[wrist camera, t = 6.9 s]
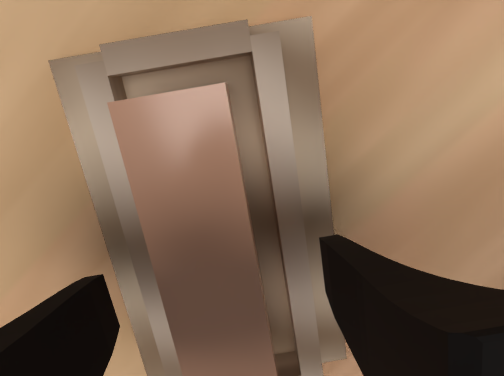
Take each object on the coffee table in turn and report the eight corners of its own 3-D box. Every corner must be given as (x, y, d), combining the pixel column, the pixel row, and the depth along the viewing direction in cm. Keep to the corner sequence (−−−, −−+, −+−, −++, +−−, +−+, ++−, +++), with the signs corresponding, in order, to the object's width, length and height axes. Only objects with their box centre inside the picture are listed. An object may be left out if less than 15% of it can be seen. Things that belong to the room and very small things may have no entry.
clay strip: (272, 336, 17) (287, 435, 12) (211, 346, 17) (203, 450, 12) (228, 84, 13) (224, 82, 9) (152, 96, 13) (106, 102, 9)
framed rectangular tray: (340, 344, 18) (356, 383, 16) (156, 376, 18) (145, 419, 16) (306, 20, 14) (321, 6, 11) (61, 62, 14) (25, 57, 11)
